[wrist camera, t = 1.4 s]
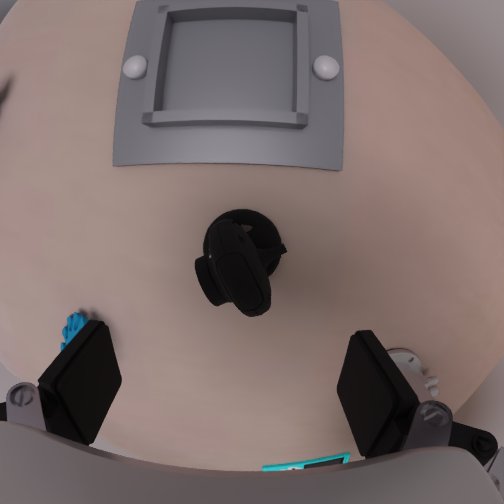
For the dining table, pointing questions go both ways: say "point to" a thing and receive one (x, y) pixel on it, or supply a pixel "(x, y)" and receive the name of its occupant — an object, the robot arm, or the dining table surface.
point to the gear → (73, 327)
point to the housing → (232, 84)
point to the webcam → (240, 261)
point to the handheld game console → (310, 463)
